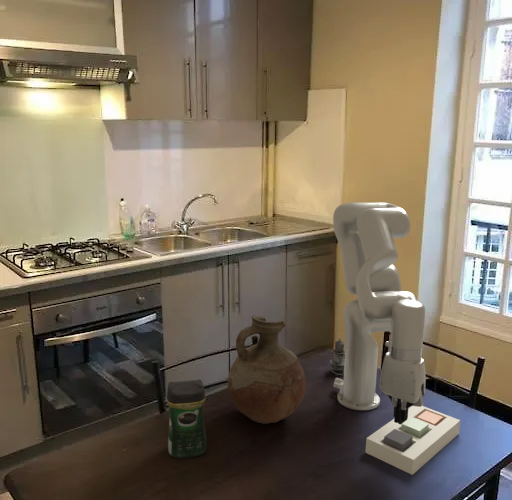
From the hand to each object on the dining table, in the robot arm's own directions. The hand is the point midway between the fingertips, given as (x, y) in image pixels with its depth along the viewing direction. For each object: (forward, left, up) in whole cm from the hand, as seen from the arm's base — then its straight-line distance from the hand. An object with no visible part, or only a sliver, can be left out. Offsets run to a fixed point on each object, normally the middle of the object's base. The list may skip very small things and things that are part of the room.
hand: (400, 421), depth 136 cm
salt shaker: (-39, +30, -10) cm, 50 cm away
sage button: (0, +9, -7) cm, 11 cm away
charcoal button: (0, 0, -7) cm, 7 cm away
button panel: (0, +9, -10) cm, 13 cm away
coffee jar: (-39, -35, -10) cm, 54 cm away
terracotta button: (0, +17, -8) cm, 19 cm away
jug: (-36, -9, -10) cm, 39 cm away
